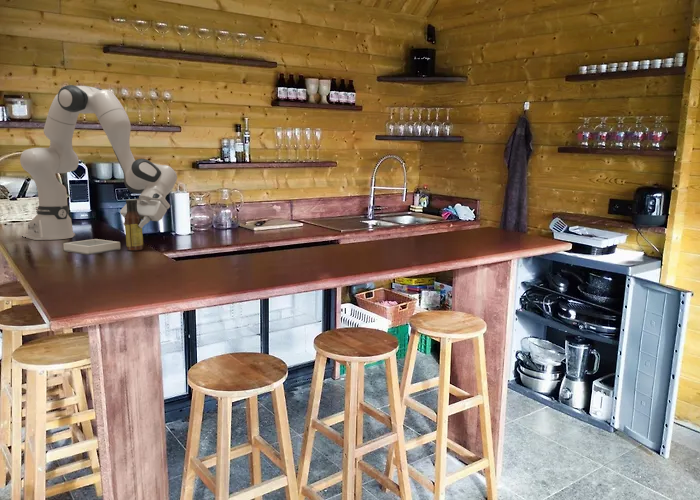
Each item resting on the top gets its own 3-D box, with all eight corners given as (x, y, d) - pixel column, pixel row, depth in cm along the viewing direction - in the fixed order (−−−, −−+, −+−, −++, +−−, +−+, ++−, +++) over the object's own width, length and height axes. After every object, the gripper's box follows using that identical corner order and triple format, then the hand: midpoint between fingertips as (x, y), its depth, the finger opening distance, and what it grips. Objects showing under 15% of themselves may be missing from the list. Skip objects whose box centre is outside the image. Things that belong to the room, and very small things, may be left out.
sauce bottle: (146, 248, 231) (144, 199, 228) (139, 251, 225) (137, 200, 222) (130, 248, 232) (128, 198, 228) (122, 250, 226) (120, 199, 222)
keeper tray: (63, 251, 223) (63, 243, 222) (96, 246, 235) (95, 238, 235) (88, 254, 216) (88, 246, 215) (120, 249, 228) (120, 242, 228)
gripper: (128, 193, 236) (109, 219, 229) (164, 195, 226) (145, 223, 219) (137, 203, 240) (119, 229, 234) (173, 206, 231) (155, 233, 224)
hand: (132, 226), depth 226 cm, fingers closed on sauce bottle, 6 cm apart
